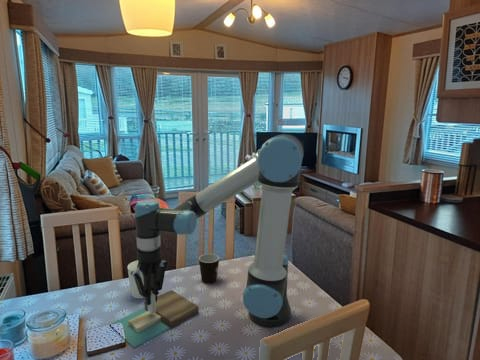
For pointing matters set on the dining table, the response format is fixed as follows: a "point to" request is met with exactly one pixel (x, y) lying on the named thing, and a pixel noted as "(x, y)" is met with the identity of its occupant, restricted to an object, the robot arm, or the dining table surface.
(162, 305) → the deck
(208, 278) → the coffee mug
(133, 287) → the candle holder
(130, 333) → the mat
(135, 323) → the light wooden block
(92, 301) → the dining table surface
